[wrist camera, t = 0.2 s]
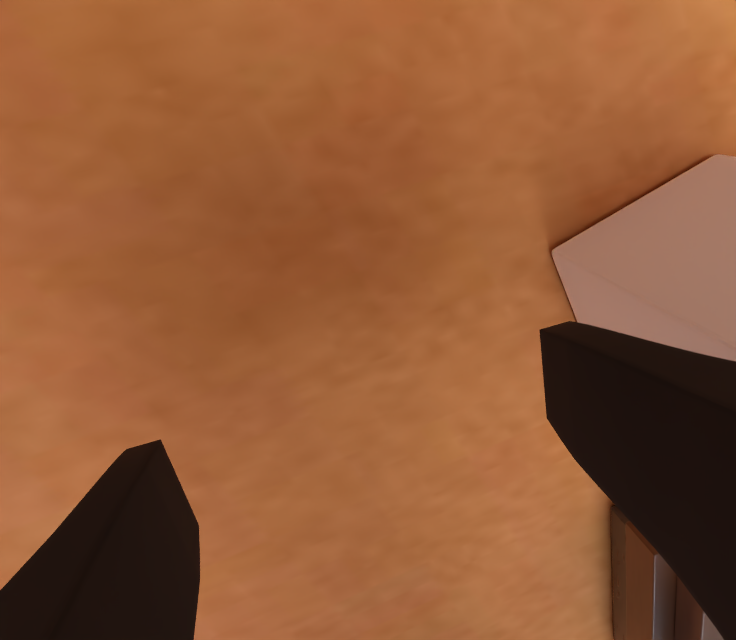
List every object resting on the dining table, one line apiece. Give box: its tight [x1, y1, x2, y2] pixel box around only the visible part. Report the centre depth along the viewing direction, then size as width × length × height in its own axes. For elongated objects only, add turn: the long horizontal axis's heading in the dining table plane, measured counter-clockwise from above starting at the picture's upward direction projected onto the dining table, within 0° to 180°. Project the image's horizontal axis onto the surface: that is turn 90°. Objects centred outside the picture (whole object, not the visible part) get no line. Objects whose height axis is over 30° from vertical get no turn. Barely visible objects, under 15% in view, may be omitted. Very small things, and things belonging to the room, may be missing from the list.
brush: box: [611, 505, 724, 640], centre depth 27 cm, size 11×5×5 cm, turn 11°
